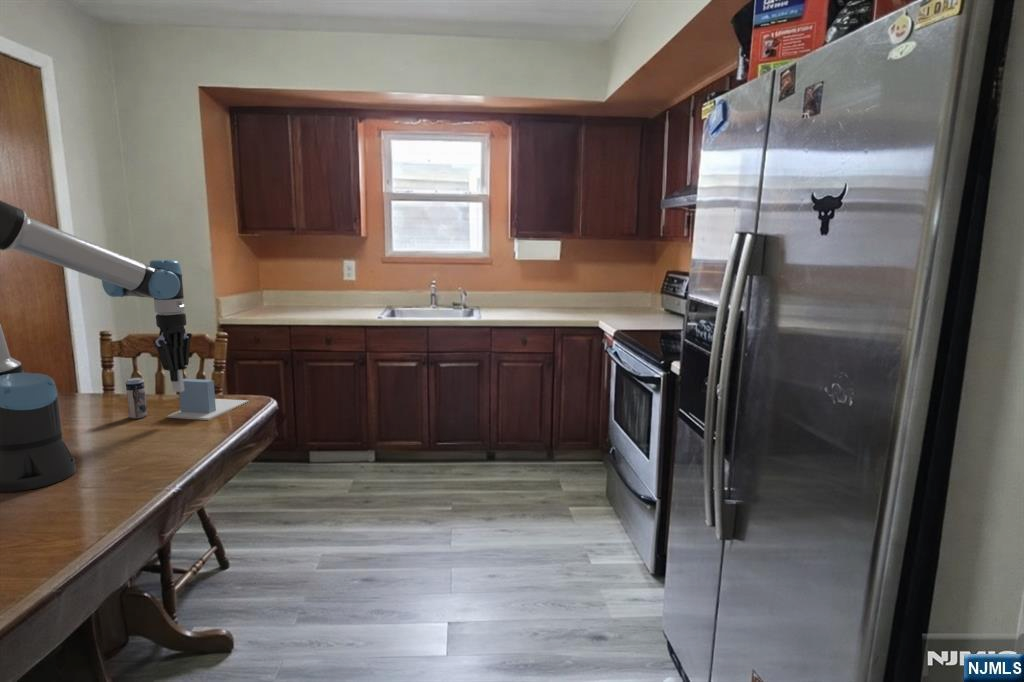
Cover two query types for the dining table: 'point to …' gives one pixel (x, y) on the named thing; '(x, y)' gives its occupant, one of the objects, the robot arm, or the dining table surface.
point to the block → (197, 396)
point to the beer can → (136, 398)
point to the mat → (221, 408)
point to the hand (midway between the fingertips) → (178, 390)
